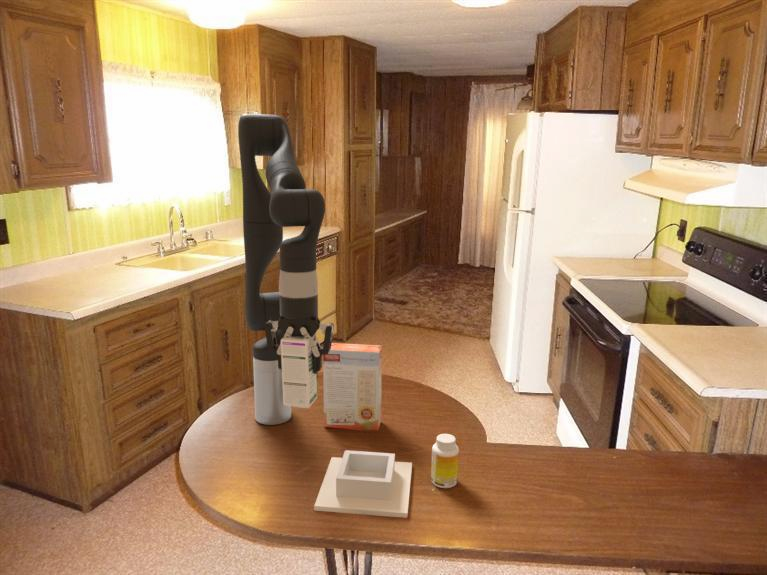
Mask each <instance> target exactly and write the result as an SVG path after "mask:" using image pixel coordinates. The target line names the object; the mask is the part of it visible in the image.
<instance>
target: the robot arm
mask: <svg viewBox="0 0 767 575" xmlns="http://www.w3.org/2000/svg"><path fill="white" fill-rule="evenodd" d="M237 126H238V129H237V135H238V149H239V150H238V151H239V158H240V159H239V160H240V169H241V170H240V171H241V179H242V181H241V183H242V227H243V228H242V229H243V233H242V234H243V245H244V246H243V247H244V262H245V263H244V264H245V282H244V284H245V285H244V286H245V287H244V289H245V291H244V293H245V294H244V316H245V317H244V318H245V324H246V326H247V328H248V330H249V331H252V332H260V331H264V332H265V334H264V335H265V337H262V339H259V340H257V341H256V342H255V343H254V344H253V345H252V367H253V369H252V370H253V371H252V372H253V390H254V391H253V392H254V393H253V395H254V418H255V421H256V422H257V423H259V424H262V425H267V426H274V425H280V424H283V423H287V422H288V421H289V420H290V419H291V418H292V407H291V406H285V405H283V389H282V362H281V339H282V338H288V337H291V336H299V337H304V338H307V339H309V340H310V348H311V350H312V352H313V354H314V357H313V374H317V373H318V374H319V372H320V371H321V369H322V367H323V355H324V354H328V353H329V351H330V349H331V344H332V343H333V335H334V328H335V325H334V323H333V322H329V323H324V322H321V321H320V318H319V288H318V287H319V282H318V280H319V279H318V274H317V246H318V240H319V236H320V232H321V229H322V224H323V221H324V217H325V213H326V200H325V199H324V196H323V195H322V193H321V192H320V191H319V190H317V189H314V188H313V189H312V188H309V189H308V188H307V187H306V185H307V184H306V182H305V178H304V176H303V175H302V172H301V170H300V168H299V167H298V166H299V165H298V164H297V160H296V155H295V151H294V145H293V141H292V135H291V133H290V132H291V131H290V129H289V125H288V123H287V121H286V119H285V118H284V117H282V116H281V115H276V114H266V113H265V114H262V113H261V114H259V113H243V114H241V116H240V117H239V120H238V124H237ZM256 157H270V158H269V159H268V161H267V163H266V166H265V174H264V175H265V179H266V182H267V184H268V187H269V189H270V190H269V189H268V187H267V185H266V184H265V182H264V181H263V178H262V176H261V174H260V172H259V169H258V166H257V161H256ZM289 227H290V228H292V227H294V228H295V227H303V230H302V231H301V233H300V234H299V235H297V236H294V237H290V238H286V239H284V228H289ZM283 239H284V240H283ZM278 252H279V276H278V277H279V278H278V291H273V292H260V291H261V285H262V282H263V279H264V277H265V274H266V272H267V270H268V268H269V266H270V264H271V263H272V261H273V260H274V258H275V256H276V255H277V253H278ZM318 330H321V335H323V336H324V338H323V346H321V344H320V341H319V338H318V335H317V336H316V334H317V331H318ZM315 333H316V334H315ZM313 335H314V336H315V338H314V340H313V339H312V337H313Z"/></svg>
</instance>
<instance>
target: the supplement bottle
mask: <svg viewBox="0 0 767 575" xmlns="http://www.w3.org/2000/svg"><path fill="white" fill-rule="evenodd" d="M456 442H457V439H456V437H455V436H454V435H453V434H450V433H441V434H438V435H437V436H436V440H435V443H434V444H433V445H432V449H431V466H430V467H431V470H430V471H431V472H430V481H431V483H432V484H433V485H434V486H435V487H438V488H439V489H440V488H441V489H450V488H453V487H455V486H456V485H457V483H458V477H459V476H458V472H459V457H460V456H459V455H460V449H459V446H458V445H457V443H456Z"/></svg>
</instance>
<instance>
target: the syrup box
mask: <svg viewBox="0 0 767 575" xmlns="http://www.w3.org/2000/svg"><path fill="white" fill-rule="evenodd" d="M315 334H316V336H317V337H318V335H317V332H316V333H315ZM314 338H315V336H314V335H313V337H312V339H313V340H314ZM313 357H314V354H313V352H312V350H311V348H310V340H309V339H307V338H304V337H299V336H291V337H288V338H282V339H281V362H282V389H283V405H285V406H291V408H292V407H293V408H300V409H301V408H302V409H309V408H311V406H312V405H313V404H314V402H315V401H317V398H319V387H318V386H319V382H318V381H319V380H318V379H319V378H318V377H319V375H318V374H319V372H318V373H317V374H313Z"/></svg>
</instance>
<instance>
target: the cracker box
mask: <svg viewBox="0 0 767 575" xmlns="http://www.w3.org/2000/svg"><path fill="white" fill-rule="evenodd" d="M382 349H383V344H382V345H378V344H362V343H341V342H340V343H339V342H332V344H331V349H330V351H329V353H328V354H324V355H322V367H323V368H322V372H323V374H322V376H323V378H322V379H323V386H322V387H323V391H322V392H323V427H324V428H333V429H348V430H362V431H363V430H364V431H377V432H378V431H379V429H380V425H381V422H382V380H383V379H382V378H383V377H382V374H383V373H382V372H383V370H382V367H383V363H382V362H383V361H382V360H383V359H382V358H383V350H382Z"/></svg>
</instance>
